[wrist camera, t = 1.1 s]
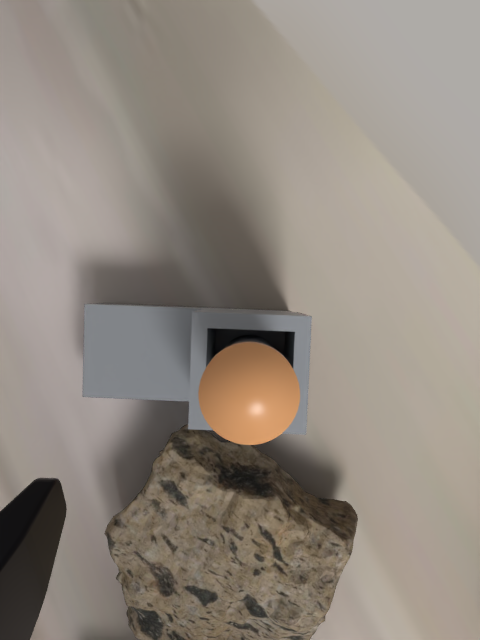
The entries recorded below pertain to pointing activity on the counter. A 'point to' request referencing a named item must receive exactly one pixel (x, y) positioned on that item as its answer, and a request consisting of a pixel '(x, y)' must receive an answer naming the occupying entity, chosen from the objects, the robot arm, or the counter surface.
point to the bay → (181, 351)
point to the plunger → (249, 391)
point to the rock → (227, 546)
